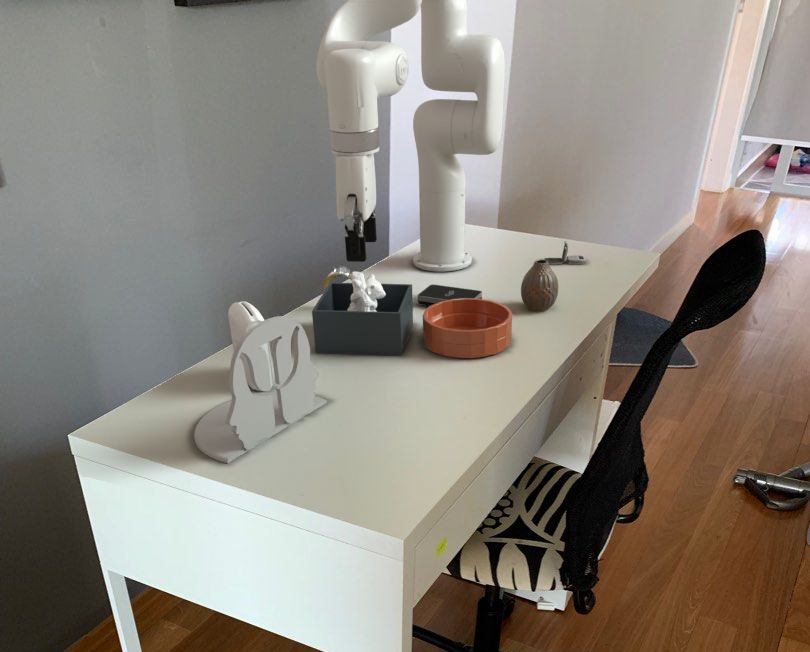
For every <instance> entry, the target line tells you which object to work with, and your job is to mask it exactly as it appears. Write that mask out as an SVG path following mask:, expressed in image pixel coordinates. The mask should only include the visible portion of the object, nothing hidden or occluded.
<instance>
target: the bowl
mask: <svg viewBox="0 0 810 652" xmlns="http://www.w3.org/2000/svg"><path fill="white" fill-rule="evenodd" d="M512 327H513V311H512V310H511V309H510V308H509V307H508V306H506V305H505V304H503V303H500V302H498V301H494V300H490V299H483V298H482V299H478V298H461V299H451V300H446V301H442V302H438V303H436V304H433V305H431V306H427V308H426V309H424V311H423V313H422V341H423V344H424V346H425V348H427V349H428V350H430V351H431V352H432V353H436V354H438V355H441V356H445V357H450V358H456V359H457V358H458V359H460V358H461V359H474V358H476V359H477V358H485V357H489V356H493V355H496V354H498V353H501V352H503V351H505V350H506V349H507V348H508V347H509V346H510V345H511V343H512V329H513V328H512Z"/></svg>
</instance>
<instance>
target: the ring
mask: <svg viewBox="0 0 810 652" xmlns="http://www.w3.org/2000/svg"><path fill="white" fill-rule="evenodd" d="M351 274H352V272H351V269H350V268H348V267H346V266H345V265H342V264H341V265H340V264H339V267H335V266H333V270H332V271H331V272H330V273H329V274H328V275H327V276H326V278H325V279H324V281H323V292H324V291H325V290H326V288H327V286H328V285H329V283H331V280H333V279H335V278H336V277H346V278H348V280H350V281H351V280H352V276H351Z"/></svg>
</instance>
